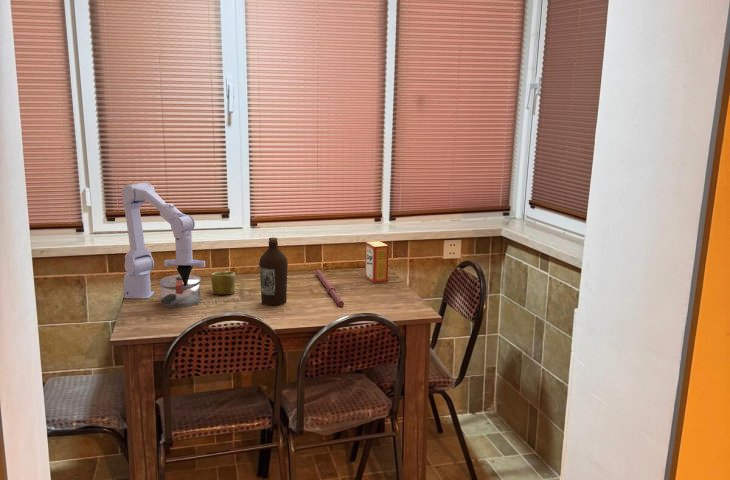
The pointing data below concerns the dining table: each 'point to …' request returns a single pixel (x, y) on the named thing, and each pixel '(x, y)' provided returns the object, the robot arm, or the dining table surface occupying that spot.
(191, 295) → the silver pot
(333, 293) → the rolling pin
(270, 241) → the olive oil
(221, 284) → the mug
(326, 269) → the dining table surface
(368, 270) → the baking soda box
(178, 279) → the cooker lid
